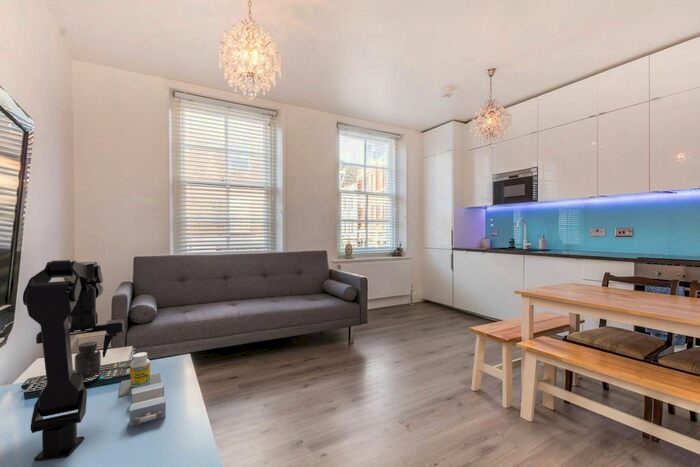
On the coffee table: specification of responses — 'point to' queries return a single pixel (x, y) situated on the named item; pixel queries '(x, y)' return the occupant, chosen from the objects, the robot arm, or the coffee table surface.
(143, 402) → the vise
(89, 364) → the supplement bottle
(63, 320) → the robot arm
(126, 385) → the white flat square
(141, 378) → the supplement bottle
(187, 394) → the coffee table surface
